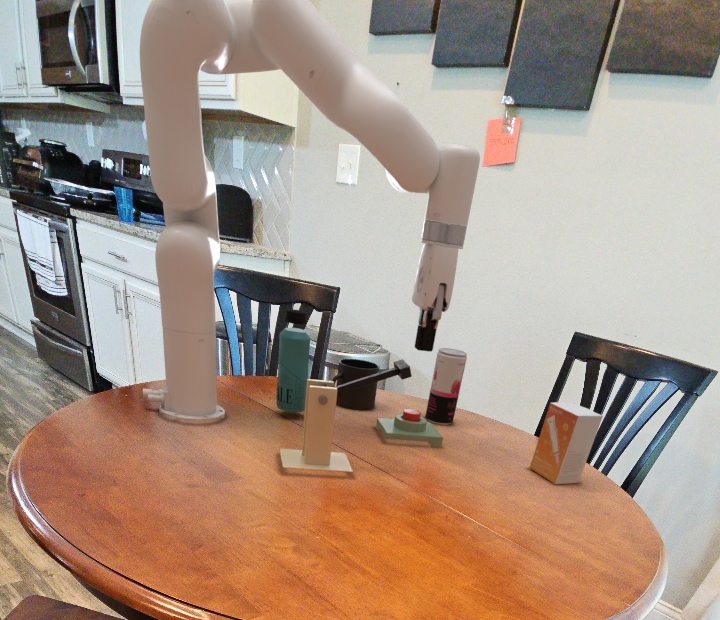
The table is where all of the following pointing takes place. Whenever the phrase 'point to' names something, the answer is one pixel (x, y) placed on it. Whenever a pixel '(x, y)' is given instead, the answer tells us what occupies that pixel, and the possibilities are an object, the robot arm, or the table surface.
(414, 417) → the button
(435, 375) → the beverage can
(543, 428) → the small box
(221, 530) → the table surface
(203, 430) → the table surface
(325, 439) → the bracket
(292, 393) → the beverage bottle
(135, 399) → the table surface
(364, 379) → the lever
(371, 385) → the mug
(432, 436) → the control block
